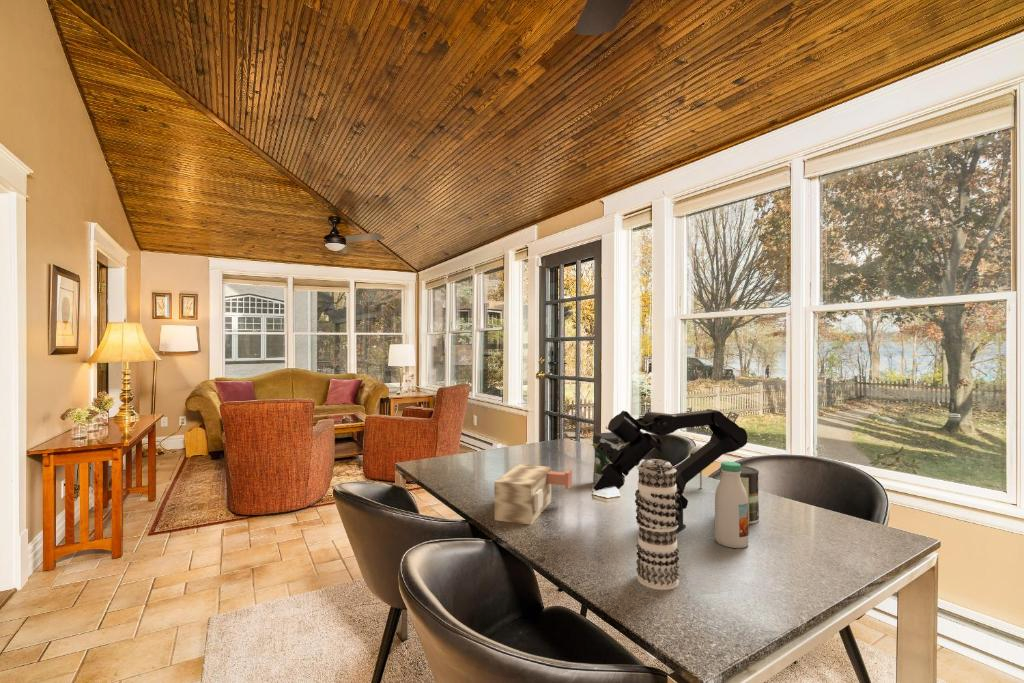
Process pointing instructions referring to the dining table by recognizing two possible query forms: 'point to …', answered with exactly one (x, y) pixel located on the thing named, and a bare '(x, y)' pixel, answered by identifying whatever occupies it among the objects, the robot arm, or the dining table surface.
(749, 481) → the coffee can
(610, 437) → the coffee jar
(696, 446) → the lollipop
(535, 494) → the cream plug
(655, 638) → the dining table surface
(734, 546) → the milk bottle
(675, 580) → the decorative candle
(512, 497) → the socket block
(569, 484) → the terracotta plug
